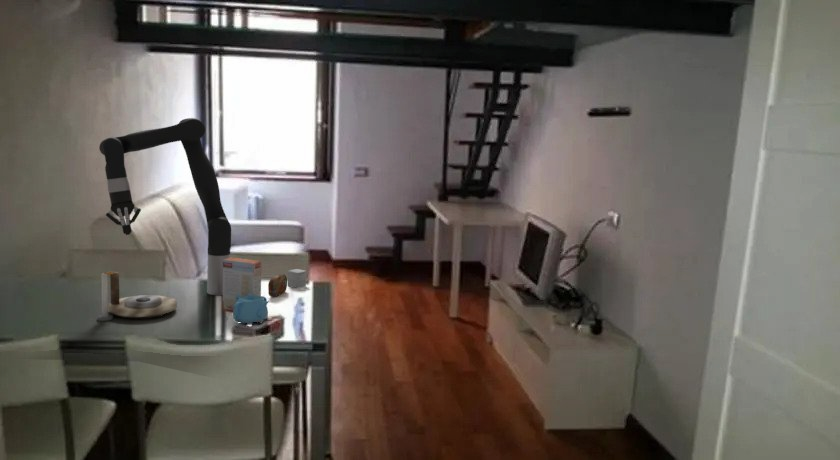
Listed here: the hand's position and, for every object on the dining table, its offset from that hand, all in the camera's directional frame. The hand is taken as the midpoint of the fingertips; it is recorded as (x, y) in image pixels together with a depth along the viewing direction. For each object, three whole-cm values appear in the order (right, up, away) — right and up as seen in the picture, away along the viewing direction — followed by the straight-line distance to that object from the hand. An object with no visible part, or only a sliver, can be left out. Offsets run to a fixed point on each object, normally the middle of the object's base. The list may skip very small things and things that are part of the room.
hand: (128, 234), depth 248 cm
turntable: (+8, -28, -4) cm, 29 cm away
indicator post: (-2, -31, -15) cm, 34 cm away
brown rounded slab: (+51, -27, +32) cm, 66 cm away
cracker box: (+43, -31, +5) cm, 53 cm away
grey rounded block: (+56, -24, +48) cm, 78 cm away
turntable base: (+7, -30, -3) cm, 31 cm away
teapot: (+50, -33, -8) cm, 61 cm away
